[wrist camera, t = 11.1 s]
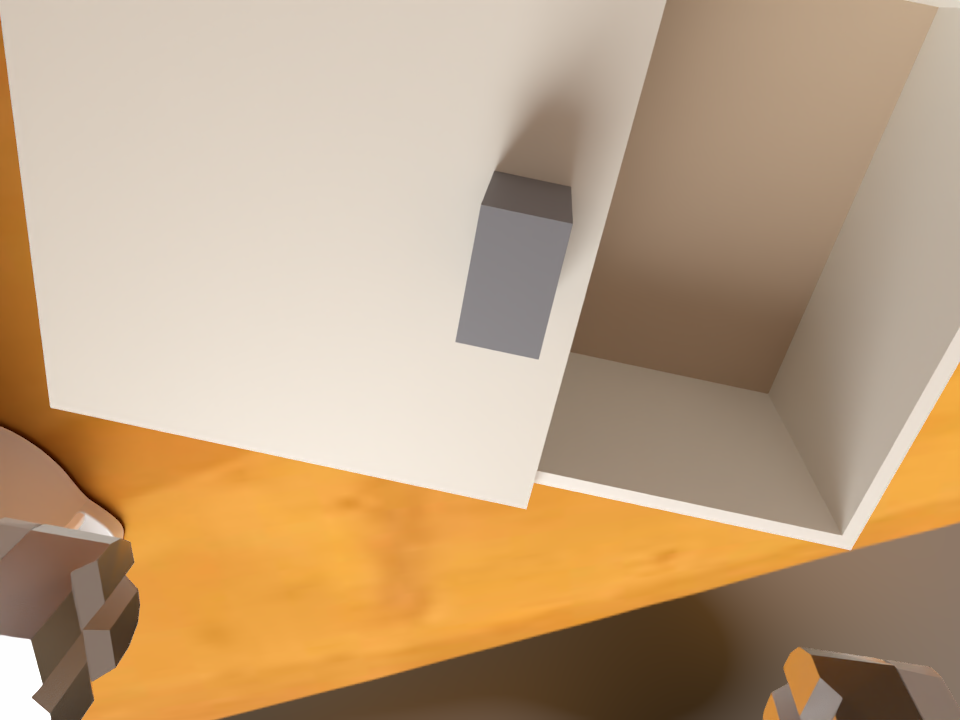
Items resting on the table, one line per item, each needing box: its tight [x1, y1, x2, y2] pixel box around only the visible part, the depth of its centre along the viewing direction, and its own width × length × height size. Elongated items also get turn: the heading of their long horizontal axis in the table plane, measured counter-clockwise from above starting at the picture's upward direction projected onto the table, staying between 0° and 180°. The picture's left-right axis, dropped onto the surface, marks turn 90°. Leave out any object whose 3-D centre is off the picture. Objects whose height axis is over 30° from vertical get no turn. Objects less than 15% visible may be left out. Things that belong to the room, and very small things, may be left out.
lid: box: [0, 0, 666, 509], centre depth 21 cm, size 21×19×5 cm
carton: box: [534, 0, 960, 550], centre depth 29 cm, size 20×18×12 cm
